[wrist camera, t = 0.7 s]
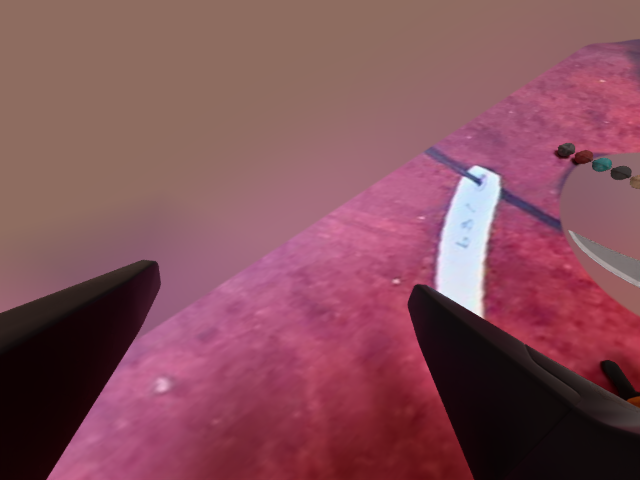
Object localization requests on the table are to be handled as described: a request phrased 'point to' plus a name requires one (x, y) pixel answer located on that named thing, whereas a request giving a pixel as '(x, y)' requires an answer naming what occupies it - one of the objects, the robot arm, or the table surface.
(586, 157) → the beads
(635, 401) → the action figure
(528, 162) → the table surface
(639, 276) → the knife
